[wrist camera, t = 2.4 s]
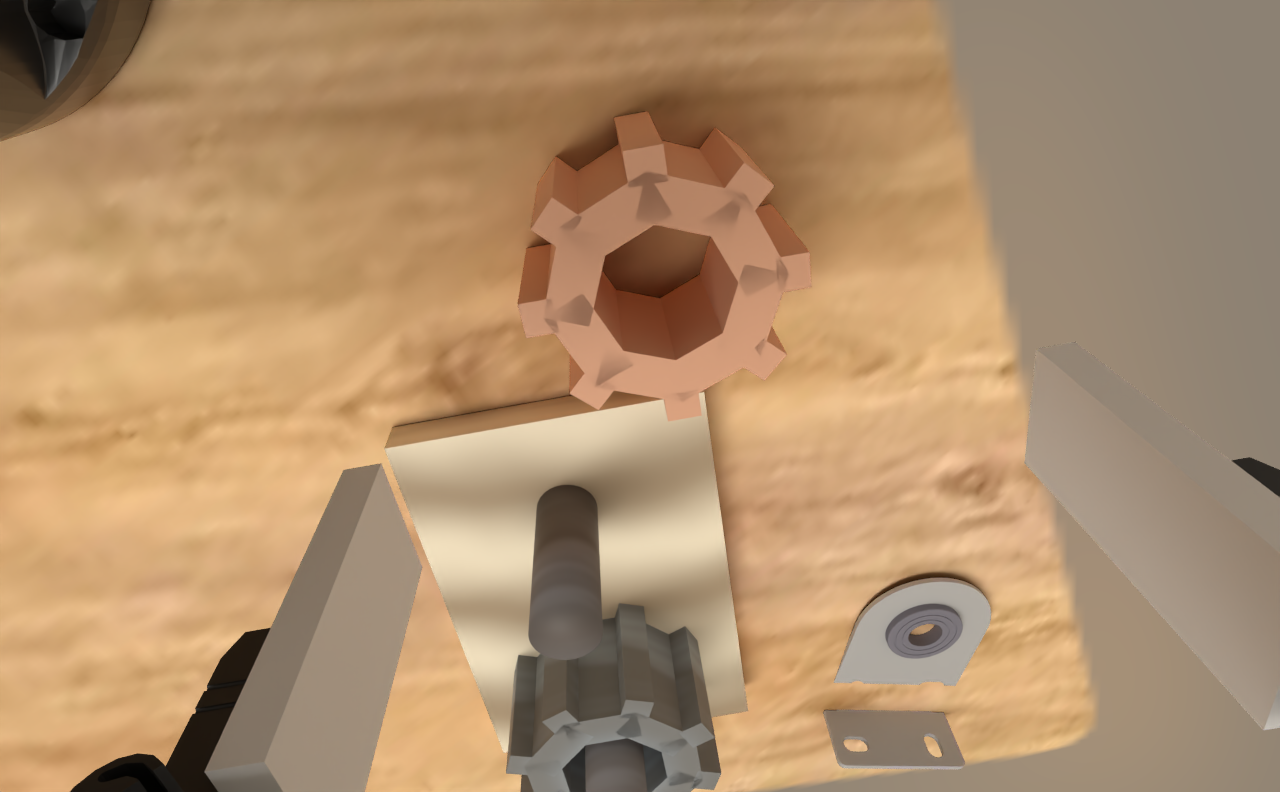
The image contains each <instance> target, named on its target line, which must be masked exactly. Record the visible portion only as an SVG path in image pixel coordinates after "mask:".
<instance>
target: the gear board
mask: <svg viewBox="0 0 1280 792" xmlns="http://www.w3.org/2000/svg"><path fill="white" fill-rule="evenodd" d="M699 399H700V406H701V413H702V416H697V417H691V418H686V419H680V420H674V421H669V422H668V419H667V414H666V409H665V404H664V399H661V398H655V397H649V396H643V395H637V394H631V393H625V392H619V391H613V392H612V394H611V395H610V396H609V398H608V399H607V400H606V401H605V403H604V404H603V405H602V407H601V408H600V409H599V410H598V409H596V408H594V407H592V406H591V405H589V404H587V403H585V402H584V401H582V400H580V399H578V398H577V397H575V396H573V395H572V396H566V397H561V398H555V399H549V400H544V401H538V402H533V403H527V404H521V405H516V406H510V407H504V408H499V409H493V410H488V411H482V412H476V413H471V414H465V415H459V416H454V417H448V418H443V419H437V420H431V421H426V422H420V423H414V424H409V425H403V426H398V427H392V430H391V433H390V435H389V438H388V440H387V443H386V446H385V448H384V449H385V452H386V454H387V457H388V459H389V462H390V464H391V467H392V469H393V472H394V475H395V477H396V480H397V482H398V485H399V487H400V490H401V492H402V495H403V497H404V500H405V503H406V505H407V508H408V510H409V513H410V515H411V518H412V520H413V523H414V525H415V528H416V531H417V533H418V536H419V538H420V541H421V543H422V546H423V548H424V551H425V553H426V556H427V559H428V561H429V564H430V566H431V569H432V571H433V574H434V576H435V579H436V581H437V584H438V586H439V589H440V592H441V594H442V597H443V599H444V602H445V604H446V607H447V609H448V612H449V614H450V617H451V620H452V622H453V625H454V627H455V630H456V632H457V635H458V637H459V640H460V642H461V645H462V648H463V650H464V653H465V655H466V658H467V660H468V663H469V665H470V668H471V670H472V673H473V675H474V678H475V681H476V683H477V686H478V688H479V691H480V693H481V696H482V698H483V701H484V703H485V706H486V709H487V711H488V714H489V716H490V719H491V721H492V724H493V726H494V729H495V731H496V734H497V737H498V739H499V742H500V744H501V747H502V749H503V752H504V753H506V752H508V756H507V768H506V773H508V774H520V775H522V778H521V792H691V791H692V790H693V789H694V788H697V789H710V790H714V788H715V786H716V784H717V782H718V779H719V777H720V775H721V769H720V763H719V758H718V752H717V747H716V741H715V735H714V729H713V723H712V718H711V717H717V716H723V715H728V714H734V713H740V712H746V711H748V707H747V700H746V692H745V685H744V678H743V671H742V663H741V656H740V649H739V642H738V634H737V627H736V620H735V613H734V605H733V598H732V591H731V584H730V576H729V569H728V562H727V554H726V547H725V540H724V533H723V525H722V518H721V511H720V504H719V496H718V489H717V482H716V475H715V467H714V460H713V453H712V446H711V438H710V431H709V424H708V416H707V409H706V402H705V395H704V390H703V391H701V392H700V393H699Z"/></svg>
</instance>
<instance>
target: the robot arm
mask: <svg viewBox="0 0 1280 792" xmlns="http://www.w3.org/2000/svg"><path fill="white" fill-rule="evenodd" d="M150 1H151V0H0V141H3V140H6V139H9V138H12V137H15V136H18V135H22V134H25V133H28V132H31V131H34V130H37V129H40V128H43V127H45V126H47V125H50V124H52V123H54V122H57V121H58V120H60V119H62V118H64V117H66V116H68V115H69V114H71V113H73V112H74V111H76V110H77V109H79V108H80V107H82V106H83V105H84V104H86V103H87V102H88V101H89V100H91V99H92V98H93V97H94V96H95V95H96V94H98V93H99V92H100V91H101V90H102V89H103V88H104V87H105V85H106V84H107V83H108V82H109V81H110V80H111V79H112V78H113V76H114V75H115V74H116V73H117V71H118V70H119V69H120V67H121V66H122V64H123V63H124V61H125V60H126V58H127V57H128V55H129V53H130V52H131V50H132V48H133V46H134V44H135V42H136V40H137V38H138V36H139V33H140V31H141V28H142V26H143V23H144V21H145V18H146V14H147V11H148V7H149V4H150ZM1025 464H1026V465H1027V466H1028V468H1029V469H1030V470H1031V471H1032V472H1033V473H1034V474H1035V475H1036V476H1037V478H1038V479H1039V480H1040V481H1041V482H1042V483H1043V484H1044V485H1045V487H1046V488H1047V489H1048V490H1049V491H1050V492H1051V493H1052V494H1053V495H1054V497H1055V498H1056V499H1057V500H1058V501H1059V502H1060V503H1061V504H1062V505H1063V507H1064V508H1065V509H1066V510H1067V511H1068V512H1069V513H1070V514H1071V516H1072V517H1073V518H1074V519H1075V520H1076V521H1077V522H1078V523H1079V525H1080V526H1081V527H1082V528H1083V529H1084V530H1085V531H1086V532H1087V533H1088V534H1089V536H1090V537H1091V538H1092V539H1093V540H1094V541H1095V542H1096V543H1097V544H1098V546H1099V547H1100V548H1101V549H1102V550H1103V551H1104V552H1105V553H1106V555H1107V556H1108V557H1109V558H1110V559H1111V560H1112V561H1113V563H1114V564H1115V565H1116V566H1117V567H1118V568H1119V569H1120V570H1121V571H1122V573H1123V574H1124V575H1125V576H1126V577H1127V578H1128V579H1129V580H1130V582H1131V583H1132V584H1133V585H1134V586H1135V587H1136V588H1137V589H1138V590H1139V592H1140V593H1141V594H1142V595H1143V596H1144V597H1145V598H1146V599H1147V601H1148V602H1149V603H1150V604H1151V605H1152V606H1153V607H1154V608H1155V609H1156V611H1157V612H1158V613H1159V614H1160V615H1161V616H1162V617H1163V618H1164V620H1165V621H1166V622H1167V623H1168V624H1169V625H1170V626H1171V627H1172V629H1173V630H1174V631H1175V632H1176V633H1177V634H1178V635H1179V636H1180V637H1181V638H1182V640H1183V641H1184V642H1185V643H1186V644H1187V645H1188V646H1189V648H1190V649H1191V650H1193V652H1194V653H1195V654H1196V655H1197V656H1198V658H1199V659H1200V660H1201V661H1202V662H1203V663H1204V664H1205V665H1206V666H1207V668H1208V669H1209V670H1210V671H1211V672H1212V673H1213V674H1214V675H1215V677H1216V678H1217V679H1218V680H1219V681H1220V682H1221V683H1222V684H1223V686H1224V687H1225V688H1226V689H1227V690H1228V691H1229V692H1230V693H1231V694H1232V696H1233V697H1234V698H1235V699H1236V700H1237V701H1238V702H1239V703H1240V705H1242V707H1243V708H1244V709H1245V710H1246V711H1247V712H1248V713H1249V715H1250V716H1251V717H1252V718H1253V719H1254V720H1255V721H1256V722H1257V724H1258V725H1259V726H1260V727H1261V728H1262V729H1263V730H1268V729H1273V728H1280V470H1279V469H1276V468H1274V467H1271V466H1269V465H1267V464H1264V463H1262V462H1260V461H1257V460H1255V459H1252V458H1243V459H1238V460H1233V461H1231V460H1230V459H1228V458H1227V457H1226V456H1224V455H1223V454H1222V453H1221V452H1219V451H1218V450H1216V449H1215V448H1214V447H1213V446H1211V445H1210V444H1209V443H1207V442H1206V441H1205V440H1203V439H1202V438H1201V437H1199V436H1198V435H1197V434H1196V433H1194V432H1193V431H1192V430H1190V429H1189V428H1188V427H1186V426H1185V425H1184V424H1182V423H1181V422H1180V421H1178V420H1177V419H1176V418H1175V417H1173V416H1172V415H1170V414H1169V413H1168V412H1167V411H1165V410H1164V409H1163V408H1161V407H1160V406H1159V405H1157V404H1156V403H1154V402H1153V401H1152V400H1151V399H1150V398H1148V397H1147V396H1146V395H1144V394H1143V393H1142V392H1140V391H1139V390H1138V389H1136V388H1135V387H1134V386H1132V385H1131V384H1130V383H1129V382H1127V381H1126V380H1124V379H1123V378H1122V377H1121V376H1119V375H1118V374H1117V373H1115V372H1114V371H1113V370H1111V369H1110V368H1109V367H1107V366H1106V365H1105V364H1104V363H1102V362H1101V361H1099V360H1098V359H1097V358H1096V357H1094V356H1093V355H1092V354H1090V353H1089V352H1088V351H1086V350H1085V349H1084V348H1082V347H1081V346H1080V345H1078V344H1077V343H1076V342H1071V343H1065V344H1059V345H1054V346H1048V347H1042V348H1037V349H1036V355H1035V365H1034V375H1033V385H1032V395H1031V404H1030V414H1029V424H1028V434H1027V444H1026V454H1025ZM421 570H422V565H421V563H420V560H419V558H418V555H417V552H416V550H415V547H414V545H413V542H412V540H411V537H410V535H409V532H408V530H407V527H406V525H405V522H404V520H403V517H402V515H401V512H400V510H399V507H398V504H397V502H396V499H395V497H394V494H393V492H392V489H391V487H390V484H389V482H388V479H387V477H386V474H385V472H384V469H383V467H382V464H375V465H370V466H364V467H358V468H352V469H347V470H343V473H342V475H341V477H340V479H339V481H338V483H337V486H336V488H335V490H334V492H333V494H332V496H331V499H330V501H329V503H328V505H327V507H326V509H325V512H324V514H323V516H322V518H321V520H320V522H319V525H318V527H317V529H316V531H315V533H314V535H313V538H312V540H311V542H310V544H309V546H308V548H307V551H306V553H305V555H304V557H303V559H302V561H301V564H300V566H299V568H298V570H297V572H296V574H295V577H294V579H293V581H292V583H291V585H290V587H289V590H288V592H287V594H286V596H285V598H284V600H283V603H282V605H281V607H280V609H279V611H278V613H277V616H276V618H275V620H274V622H273V624H272V626H271V628H267V629H261V630H255V631H250V632H245V633H244V634H243V635H242V636H241V638H240V639H239V640H238V641H237V642H236V643H235V644H234V645H233V646H232V647H231V648H230V649H229V650H228V651H227V653H226V654H225V655H224V656H223V657H222V658H221V659H220V661H219V663H218V665H217V667H216V669H215V671H214V673H213V675H212V677H211V679H210V681H209V683H208V685H207V691H204V693H203V695H202V696H201V698H200V700H199V702H198V704H197V706H196V708H195V709H196V713H195V714H192V716H191V718H190V720H189V722H188V724H187V726H186V728H185V730H184V732H183V734H182V735H181V737H180V739H179V741H178V743H177V745H176V747H175V749H174V751H173V753H172V755H171V757H170V759H169V761H168V763H167V765H166V767H165V765H164V764H163V763H162V762H161V761H160V760H159V759H157V758H156V757H155V756H154V755H147V754H134V755H130V756H126V757H122V758H118V759H116V760H114V761H112V762H110V763H108V764H106V765H105V766H103V767H101V768H99V769H97V770H95V771H94V772H93V773H91V774H90V775H89V776H87V777H86V778H85V779H84V780H82V781H81V782H80V783H79V784H77V785H76V786H75V787H74V788H73V789H72V790H71V791H70V792H365V788H366V784H367V781H368V777H369V773H370V769H371V765H372V761H373V757H374V753H375V749H376V746H377V742H378V738H379V734H380V730H381V726H382V722H383V718H384V714H385V711H386V707H387V703H388V699H389V695H390V691H391V687H392V683H393V679H394V675H395V672H396V668H397V664H398V660H399V656H400V652H401V648H402V644H403V640H404V637H405V633H406V629H407V625H408V621H409V617H410V613H411V609H412V605H413V602H414V598H415V594H416V590H417V586H418V582H419V578H420V574H421Z"/></svg>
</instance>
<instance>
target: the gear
mask: <svg viewBox="0 0 1280 792" xmlns="http://www.w3.org/2000/svg"><path fill="white" fill-rule="evenodd" d="M614 120H615V126H616V132H617V138H618V145H616V146H615V147H613V148H612V149H610V150H609V151H607V152H606V153H604V154H603V155H601V156H600V157H598V158H597V159H595V160H594V161H592V162H591V163H589V164H587V165H586V166H584V167H583V168H581V169H580V170H578V171H576V170H575V169H573V168H572V167H570V166H569V165H568V164H566V163H565V162H563V161H562V160H560V159H559V158H557V157H556V156H555V158H554V160H553V161H552V163H551V164H550V166H549V167H548V169H547V170H546V172H545V173H544V175H543V176H542V178H541V180H540V181H539V183H538V185H537V191H536V198H535V204H534V211H533V217H532V223H531V231H533V232H534V233H536V234H538V235H539V236H541V237H542V238H544V239H545V240H547V241H548V242H550V243H551V244H548V245H542V246H537V247H531V248H527V249H526V255H525V261H524V268H523V274H522V280H521V286H520V293H519V299H518V308H519V312H520V316H521V320H522V323H523V327H524V331H525V335H526V338H530V337H536V336H542V335H547V334H553V333H555V335H556V336H557V337H558V339H559V340H560V341H561V343H562V344H563V345H564V347H565V348H566V349H567V351H568V352H569V353H570V387H569V393H570V394H571V395H573V396H575V397H577V398H578V399H580V400H582V401H584V402H585V403H587V404H589V405H591V406H592V407H594V408H596V409H598V410H599V409H600V408H601V407H602V405H603V404H604V403H605V401H606V400H607V399H608V398H609V396H610V395H611V394H612V392H613V391H619V392H625V393H631V394H637V395H643V396H649V397H655V398H661V399H664V404H665V409H666V414H667V419H668V422H669V421H674V420H680V419H686V418H691V417H697V416H702V413H701V406H700V399H699V393H700V392H701V391H703V390H705V389H707V388H708V387H710V386H712V385H714V384H716V383H717V382H719V381H721V380H723V379H724V378H726V377H728V376H730V375H731V374H733V373H735V372H737V371H739V370H740V369H742V368H745V369H747V370H748V371H750V372H751V373H753V374H755V375H756V376H758V377H759V378H761V379H762V380H764V381H765V379H766V378H767V377H768V376H769V375H770V374H771V373H772V371H773V370H774V369H775V368H776V367H777V366H778V365H779V363H780V362H781V361H782V360H783V359H784V358H785V357H786V355H787V354H786V352H785V350H784V348H783V346H782V344H781V343H780V341H779V339H778V337H777V335H776V333H775V331H774V329H773V328H772V323H773V320H774V318H775V315H776V312H777V309H778V306H779V303H780V300H781V297H782V294H783V292H787V291H793V290H799V289H804V288H810V287H811V269H810V252H809V251H808V249H807V248H806V247H805V246H804V244H803V243H802V242H801V241H800V239H799V238H798V237H797V236H796V234H795V233H794V232H793V231H792V229H791V228H790V227H789V226H788V224H787V223H786V222H785V221H784V219H783V218H782V217H781V216H780V214H779V213H778V212H777V211H776V209H775V208H774V207H773V205H772V204H769V205H764V206H759V205H760V204H761V202H762V201H763V200H764V199H765V197H766V196H767V195H768V194H769V192H770V191H771V190H772V188H773V187H774V184H773V183H772V182H771V181H770V180H769V179H768V178H767V176H766V175H765V174H764V173H763V172H762V171H761V170H760V168H759V167H758V166H757V165H756V164H755V163H754V162H753V160H752V159H751V158H750V157H749V156H748V155H747V154H746V152H745V151H744V150H743V149H742V148H741V147H740V146H739V145H738V144H736V143H735V142H734V141H732V140H731V139H730V138H728V137H727V136H726V135H725V134H723V133H722V132H721V131H719V130H718V129H717V128H714V129H713V131H712V132H711V133H710V135H709V136H708V138H707V139H706V140H705V142H704V143H703V145H702V146H701V147H700V149H697V148H693V147H688V146H684V145H680V144H675V143H671V142H667V141H662V140H661V138H660V136H659V134H658V132H657V130H656V128H655V126H654V123H653V121H652V119H651V117H650V115H649V113H648V111H646V112H641V113H635V114H630V115H624V116H619V117H614ZM654 225H658V226H663V227H667V228H672V229H677V230H682V231H686V232H691V233H696V234H701V235H705V236H710V240H709V243H708V247H707V250H706V254H705V257H704V261H703V264H702V268H701V271H700V275H698V276H696V277H695V278H693V279H691V280H690V281H688V282H686V283H685V284H683V285H681V286H680V287H678V288H676V289H675V290H673V291H671V292H670V293H668V294H666V295H665V296H663V297H661V298H657V297H652V296H646V295H641V294H636V293H631V292H626V291H621V290H616V289H615V288H614V286H613V285H612V283H611V282H610V281H609V279H608V278H607V276H606V275H605V273H604V272H603V270H602V268H603V263H604V259H605V256H606V255H607V254H609V253H611V252H612V251H614V250H615V249H617V248H619V247H620V246H622V245H623V244H625V243H627V242H628V241H630V240H631V239H633V238H635V237H636V236H638V235H639V234H641V233H643V232H644V231H646V230H647V229H649V228H651V227H652V226H654Z"/></svg>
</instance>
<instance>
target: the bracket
mask: <svg viewBox="0 0 1280 792" xmlns="http://www.w3.org/2000/svg"><path fill="white" fill-rule="evenodd" d="M990 620H991V609H990V605H989V603H988V601H987V599H986V597H985V596H984V594H983V593H982V592H981V591H980V590H979V589H978V588H976V587H975V586H973V585H972V584H969V583H967V582H965V581H961V580H958V579H952V578H928V579H921V580H916V581H912V582H909V583H906V584H903V585H900V586H898V587H895V588H893V589H891V590H889V591H887V592H886V593H884V594H882V595H881V596H879V597H878V598H876V599H875V600H874V601H873V602H871V603H870V604H869V605H868V606H867V607H866V608H865V609H864V610H863V612H862V613H861V615H860V616H859V618H858V620H857V621H856V624H855V626H854V628H853V631H852V633H851V636H850V638H849V640H848V643H847V646H846V649H845V652H844V655H843V657H842V660H841V663H840V666H839V669H838V672H837V675H836V678H835V681H834V683H852V682H854V681H861V682H863V683H870V684H910V685H920V684H921V683H923V682H942V683H943V684H944V685H950V686H956V684H957V682H958V680H959V679H960V677H961V675H962V673H963V671H964V670H965V668H966V666H967V664H968V663H969V661H970V659H971V657H972V655H973V654H974V652H975V650H976V648H977V647H978V645H979V643H980V641H981V640H982V638H983V636H984V634H985V632H986V631H987V628H988V626H989V624H990ZM924 624H935V626H934V627H933V628H932V629H931V630H930V631H928V632H926V633H924V634H921V635H911V634H910V632H911V631H912V630H914V629H915V628H916V627H918V626H921V625H924ZM823 714H824V717H825V721H826V724H827V728H828V731H829V735H830V738H831V741H832V745H833V748H834V752H835V755H836V759H837V762H838V764H839V765H840V766H841V767H842V768H872V769H962V768H963V766H964V764H965V761H964V759H963V756H962V754H961V752H960V749H959V747H958V745H957V742H956V740H955V738H954V735H953V733H952V731H951V728H950V726H949V724H948V721H947V719H946V717H945V714H944V713H943V712H929V711H875V710H824V712H823ZM925 736H929V737H932V738H933V739H935V740H936V742H937V743H938V745H939V748H940V750H941V753H942V757H939V758H938V757H934V756H933V755H931V754H930V753H929V751H928V749H927V747H926V744H925V741H924V737H925ZM846 739H858V740H861V741H863V742H864V743H865V744H866V745H867V748H868V750H867V751H865V752H853V751H850V750H848V749H847V748H846V747H845V746H844V743H843V741H844V740H846Z"/></svg>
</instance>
